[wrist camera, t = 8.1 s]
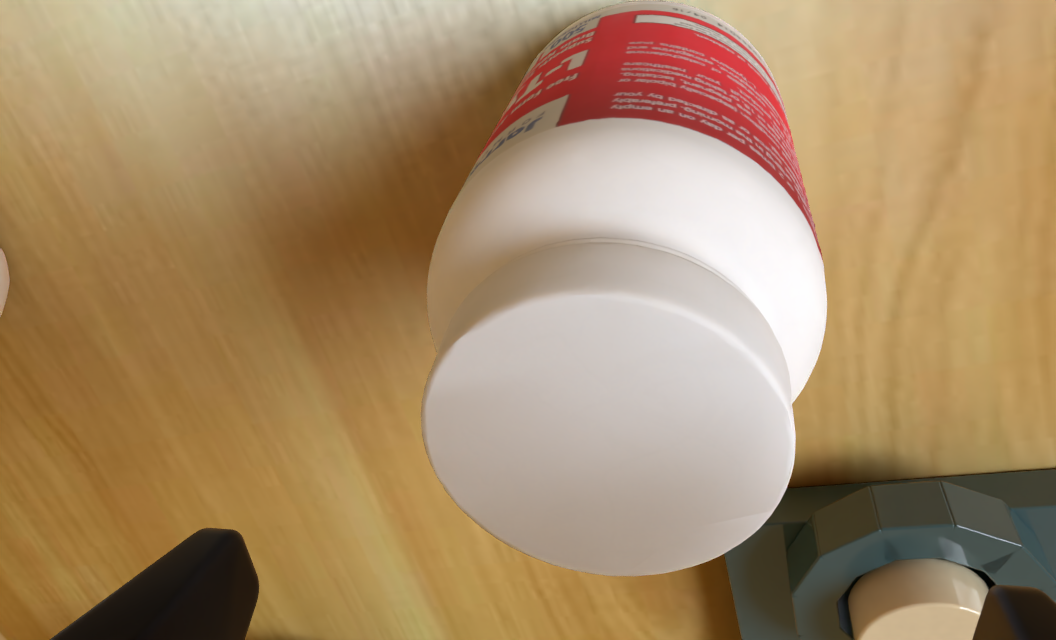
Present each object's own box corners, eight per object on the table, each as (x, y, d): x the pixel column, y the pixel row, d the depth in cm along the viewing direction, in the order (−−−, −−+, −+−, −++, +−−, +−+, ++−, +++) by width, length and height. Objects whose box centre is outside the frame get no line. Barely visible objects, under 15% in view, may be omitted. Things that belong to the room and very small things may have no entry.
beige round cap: (842, 559, 22) (851, 607, 21) (992, 551, 21) (1011, 601, 20) (851, 645, 24) (860, 694, 23) (989, 642, 23) (1007, 693, 22)
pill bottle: (577, -56, 17) (447, 134, 8) (838, 65, 18) (987, 371, 9) (479, 191, 21) (313, 514, 12) (700, 287, 21) (704, 670, 12)
